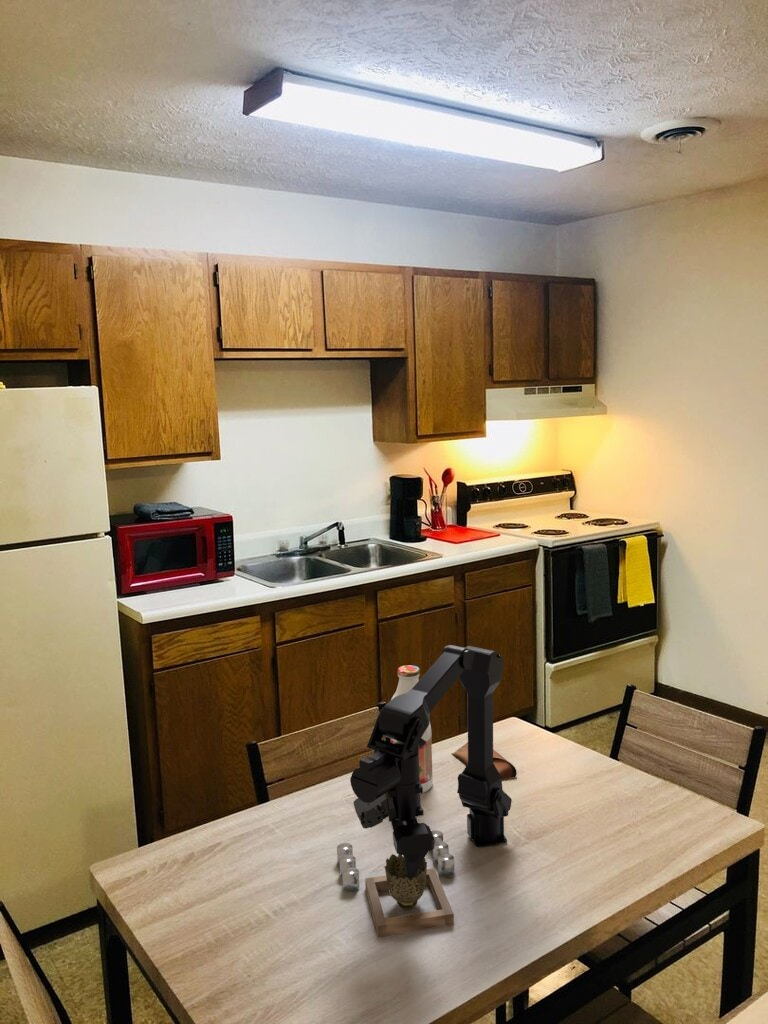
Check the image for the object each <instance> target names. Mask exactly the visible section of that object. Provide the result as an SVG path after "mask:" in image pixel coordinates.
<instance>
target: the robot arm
mask: <svg viewBox="0 0 768 1024" xmlns="http://www.w3.org/2000/svg"><path fill="white" fill-rule="evenodd" d="M503 670H504V661H503V656H502V655H501V654H500V653H499V652H498V651H496V650H491V649H486V648H482V647H478V646H472V645H467V646H466V647H463V646H459V645H453V644H449V645H445V646H444V647H443V648H442V651H441V655H440V656H439V657H438V658H437V659H436V661H435V662H434V663H432V665H431V666H430V667H429V668H428V670H427V671H426V672H425V673H424V674H423V676H422V677H420V679H419V681H418V682H417V683H416V685H415V686H414V687H413V688H412V689H411V690H410V691H409V692H407V693H405V694H402V695H399V696H396V697H395V698H393V699H392V698H391V699H392V700H391V699H390V701H388V702H387V703H386V704H385V705H384V706H383V707H382V708H381V709H380V711H379V713H378V715H377V719H376V721H375V724H374V726H373V729H372V732H371V734H370V737H369V740H368V743H367V745H366V749H368V750H372V751H373V753H372V754H370V755H368V756H367V757H363V758H361V759H360V760H359V761H358V762H359V766H358V767H356V768H355V769H354V770H353V771H352V773H351V776H350V777H349V778H350V786H351V789H352V791H353V793H354V795H355V796H356V797H357V798H356V799H354V801H353V807H354V811H355V814H356V816H357V818H358V819H359V822H360V825H361V827H362V828H363V829H369V828H370V829H371V828H373V827H376V826H378V825H379V824H381V823H383V821H384V820H385V819H386V818H388V822H390V824H391V828H392V840H393V841H392V842H393V847H394V849H395V852H396V854H397V855H402V856H403V857H404V861H405V865H406V870H407V874H408V877H409V878H413V877H415V876H416V873H417V871H418V869H419V867H420V865H421V863H422V862H423V860H424V858H425V859H426V856H427V854H428V852H430V851H432V850H433V849H434V837H433V834H432V832H431V831H432V830H431V828H430V826H429V825H427V824H426V823H425V822H419V821H418V819H417V817H422V816H424V808H423V806H422V804H421V794H424V793H423V787H422V785H421V783H420V773H419V748H421V747H422V746H424V745H425V744H426V741H425V740H423V739H422V736H423V734H424V732H425V731H426V729H427V727H428V726H429V722H430V723H431V721H430V717H431V716H430V715H431V713H432V711H433V709H434V708H435V707H436V705H438V703H439V701H440V700H442V698H443V697H444V696H445V695H446V693H447V692H448V691H449V690H450V688H451V687H452V686H453V685H454V683H456V681H457V680H458V679H459V681H460V683H461V684H462V685H461V686H463V688H464V690H465V692H466V693H467V695H466V696H467V742H468V765H467V766H466V765H465V767H464V769H463V771H462V772H461V773H459V774H458V776H457V783H458V785H457V790H456V793H457V794H458V798H459V800H460V801H461V804H462V807H463V808H467V809H469V813H468V814H466V825H467V827H466V828H467V829H466V833H467V834H468V836H469V838H470V840H472V842H473V845H474V847H477V848H480V847H482V848H483V847H487V846H488V847H489V846H495V845H500V844H501V845H503V844H507V842H508V839H507V837H506V836H505V819H504V817H508V816H509V811H510V810H511V807H512V803H513V801H512V800H513V799H512V797H510V796H509V795H508V794H507V793H506V792H505V791H504V790H503V780H502V779H501V776H500V774H499V772H498V770H497V769H496V767H495V765H494V763H493V750H494V693H495V690H496V689H497V688H498V686H499V684H500V683H501V681H502V675H503ZM383 737H385V738H389V739H390V738H391V739H394V740H397V741H396V742H395V743H391V742H390V741H387V740H384V739H383ZM420 793H421V794H420Z"/></svg>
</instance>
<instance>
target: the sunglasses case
mask: <svg viewBox="0 0 768 1024" xmlns="http://www.w3.org/2000/svg"><path fill="white" fill-rule="evenodd" d="M451 755H452V756H453V757H454V758H456V759H457V760H458V761H460V762H461V763H463V765H465V767H466V766H467V765H468V741H467V742H466V743H465V744H463V745H462V746H461V747H459V748H458V749H456V750H455V751H454V752H451ZM493 763H494V765H495V767H496V769H497V770H498V772H499V774H500V776H501V779H502V781H504V780H508V779H512V778H516V777H517V769H516V767H515V765H513V764H512V763H511V762H510V761H509V760H507V759H506V758H504V757H503V756H502V755H501V754H500V753H499V752H497V751H496V750H495V749H493Z"/></svg>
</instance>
